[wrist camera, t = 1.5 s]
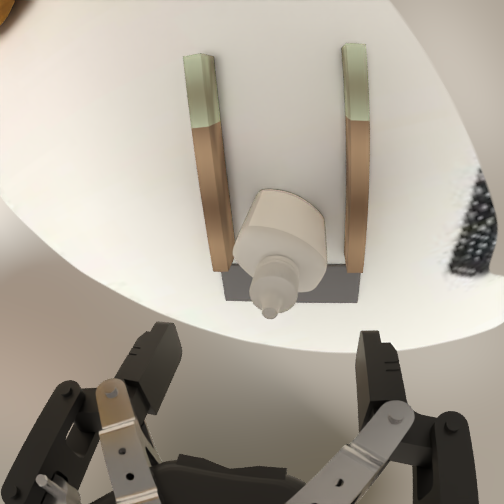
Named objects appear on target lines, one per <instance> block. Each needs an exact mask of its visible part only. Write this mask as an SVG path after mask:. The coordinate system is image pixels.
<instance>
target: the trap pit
mask: <svg viewBox="0 0 504 504" xmlns="http://www.w3.org/2000/svg"><path fill="white" fill-rule="evenodd" d="M221 274H222V280H223V286H224V293H225V299H226V301H252V300H251V298H250V294H249V293H250V292H249V291H250V286H251V283H252V279H253V277H251V276H250V275H249V274H248V273H247V272H246V271H245V270H244V269H243V268H242V267H241V266H240V265H239V264H231V266H230V269H229V271H228V272H221ZM360 274H361V273H347V269H346V265H327V268H326V272H325V274H324V276H323V278H322V279H321V281H320V282H319V284H318V285H317V286H316V288H314V289H313V290H312V291H308V292H298V297H297V300H296V302H298V303H357V301H358V293H359V284H360Z"/></svg>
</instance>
